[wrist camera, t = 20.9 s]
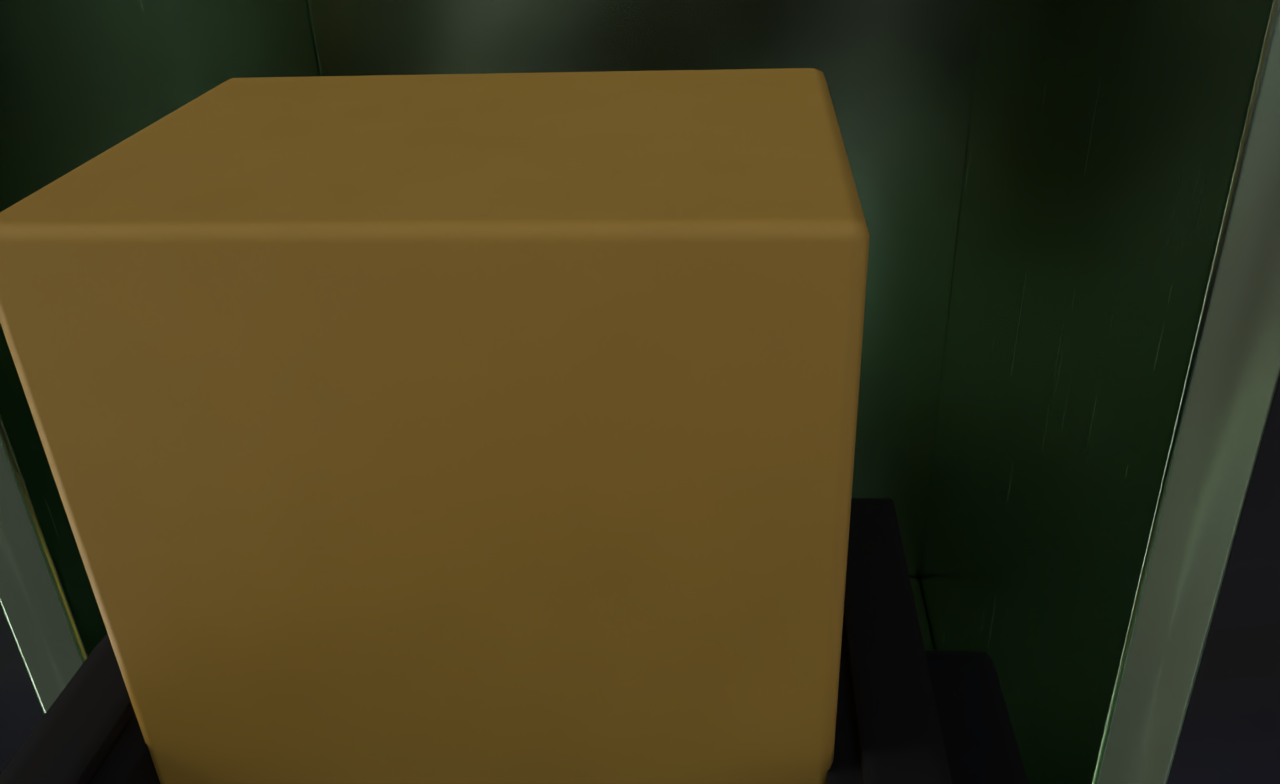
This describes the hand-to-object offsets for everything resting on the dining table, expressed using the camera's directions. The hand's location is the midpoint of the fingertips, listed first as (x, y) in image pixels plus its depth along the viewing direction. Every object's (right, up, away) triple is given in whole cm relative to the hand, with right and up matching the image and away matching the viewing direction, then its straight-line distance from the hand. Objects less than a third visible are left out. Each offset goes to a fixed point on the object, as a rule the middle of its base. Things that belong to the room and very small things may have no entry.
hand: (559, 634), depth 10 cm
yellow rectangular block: (0, 0, 0) cm, 0 cm away
